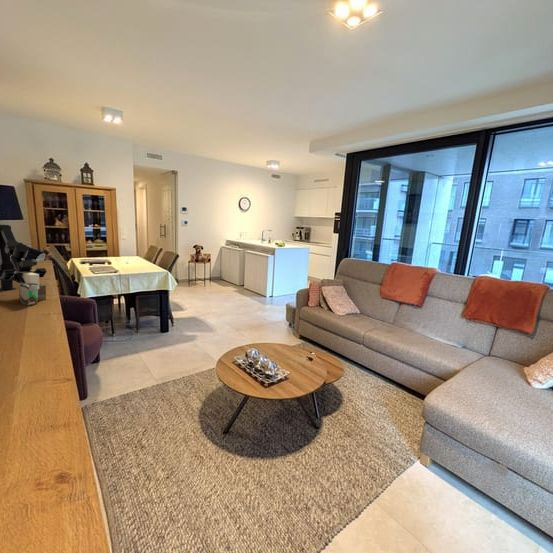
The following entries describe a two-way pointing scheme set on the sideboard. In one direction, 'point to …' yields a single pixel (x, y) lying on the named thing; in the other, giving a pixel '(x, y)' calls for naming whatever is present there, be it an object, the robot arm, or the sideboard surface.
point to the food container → (29, 293)
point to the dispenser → (39, 292)
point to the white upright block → (31, 278)
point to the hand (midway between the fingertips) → (30, 286)
